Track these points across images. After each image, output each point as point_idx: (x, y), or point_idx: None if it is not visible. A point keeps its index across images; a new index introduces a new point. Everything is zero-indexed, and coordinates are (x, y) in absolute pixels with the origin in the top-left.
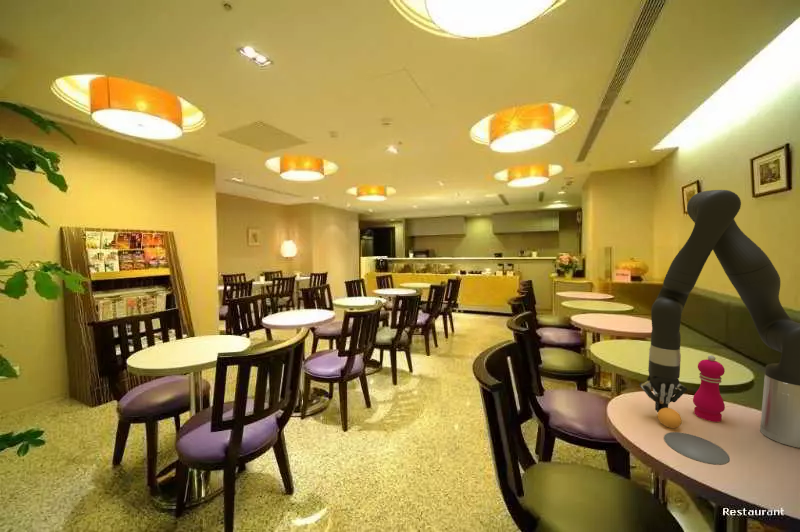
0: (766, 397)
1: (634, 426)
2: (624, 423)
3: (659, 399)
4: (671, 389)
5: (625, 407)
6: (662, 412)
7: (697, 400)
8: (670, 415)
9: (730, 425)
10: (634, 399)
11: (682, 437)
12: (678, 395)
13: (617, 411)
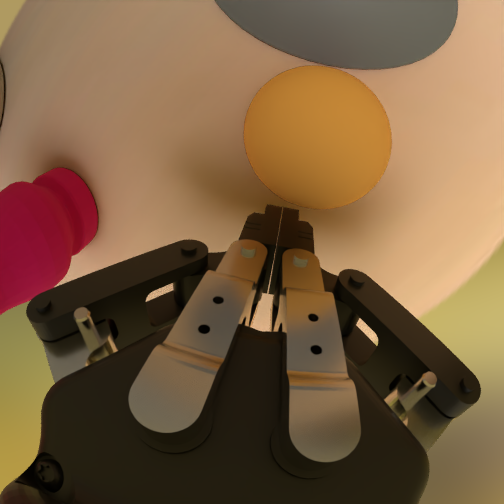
0: None
1: (484, 169)
2: (497, 201)
3: (321, 279)
4: (186, 345)
5: None
6: (387, 152)
7: (48, 252)
8: (365, 97)
9: (37, 148)
10: None
11: (337, 20)
12: (130, 274)
13: (438, 287)
